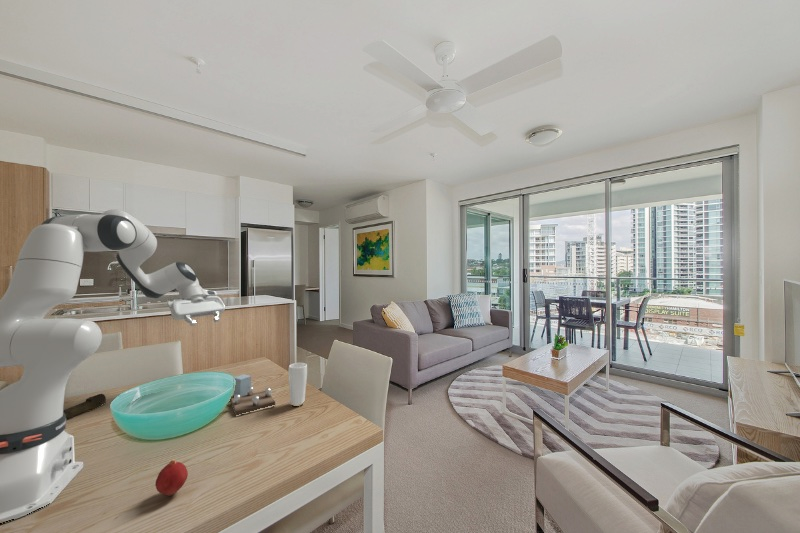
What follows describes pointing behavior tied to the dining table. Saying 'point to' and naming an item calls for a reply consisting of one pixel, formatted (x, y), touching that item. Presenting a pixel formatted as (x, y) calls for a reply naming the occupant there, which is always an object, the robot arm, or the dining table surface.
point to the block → (242, 384)
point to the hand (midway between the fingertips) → (205, 323)
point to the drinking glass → (297, 382)
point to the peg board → (252, 401)
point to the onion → (171, 478)
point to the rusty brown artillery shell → (85, 405)
